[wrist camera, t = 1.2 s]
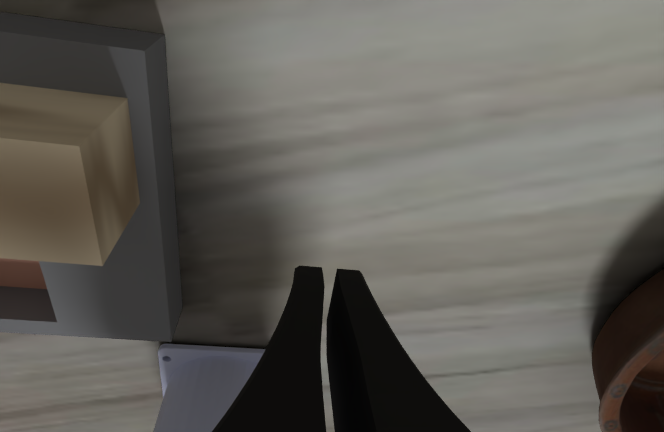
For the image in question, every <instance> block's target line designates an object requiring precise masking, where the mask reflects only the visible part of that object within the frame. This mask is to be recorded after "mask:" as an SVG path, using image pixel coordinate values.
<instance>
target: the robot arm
mask: <svg viewBox="0 0 664 432" xmlns="http://www.w3.org/2000/svg"><path fill="white" fill-rule="evenodd" d="M323 301H324V279H323V272H322V268H321V267H309V266H298V267H297V268H295V272H294V280H293V285H292V289H291V292H290V295H289V298H288V301H287V304H286V306H285V309H284V311H283V314H282V316H281V318H280V321H279V323H278V325H277V328H276V330H275V332H274V334H273V336H272V338H271V340H270V342H269V344H268V346H267V348H266V349H253V348H236V347H218V346H201V345H184V344H162V345H161V346H160V347H159V349H158V359H159V367H160V376H161V384H162V392H163V401H162V404H161V408H160V411H159V414H158V418H157V421H156V424H155V428H154V431H153V432H326V425H325V414H324V402H323V390H322V376H321V362H320V348H321V331H322V316H323ZM327 364H328V373H329V382H330V392H331V401H332V410H333V419H334V428H335V432H471V431H470V430H469V429H468V428H467V427H466V426H465V425H464V424H463V423H462V422H461V421H460V419H459V418H458V417H457V416H456V415H455V414H454V413H453V412H452V411H451V410H450V409H449V407H448V406H447V405H446V404H445V403H444V401H443V400H442V399H441V398H440V397H439V396H438V394H437V393H436V392H435V391H434V389H433V388H432V387H431V386H430V384H429V383H428V382H427V381H426V379H425V378H424V377H423V375H422V374H421V373H420V371H419V370H418V369H417V367H416V366H415V364H414V363H413V362H412V360H411V359H410V357H409V356H408V354H407V353H406V351H405V350H404V348H403V347H402V345H401V344H400V342H399V341H398V339H397V338H396V336H395V334H394V333H393V331H392V329H391V328H390V326H389V324H388V323H387V321H386V319H385V318H384V316H383V314H382V312H381V311H380V309H379V307H378V305H377V303H376V301H375V300H374V298H373V296H372V294H371V292H370V290H369V288H368V286H367V284H366V281H365V279H364V277H363V275H362V273H361V272H360V271H358V270H346V269H337V272H336V277H335V282H334V287H333V292H332V297H331V302H330V307H329V312H328V317H327Z"/></svg>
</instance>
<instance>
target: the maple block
mask: <svg viewBox="0 0 664 432" xmlns="http://www.w3.org/2000/svg"><path fill="white" fill-rule="evenodd" d="M139 204H140V198H139V190H138V181H137V173H136V165H135V157H134V148H133V140H132V132H131V123H130V115H129V107H128V98H122V97H114V96H106V95H98V94H89V93H81V92H73V91H65V90H56V89H48V88H40V87H31V86H23V85H15V84H7V83H0V258H5V259H18V260H31V261H44V262H57V263H70V264H83V265H96V266H103V265H104V263H105V261H106V260H107V258H108V256H109V254H110V253H111V251H112V249H113V248H114V246H115V244H116V243H117V241H118V239H119V238H120V236H121V234H122V232H123V231H124V229H125V227H126V226H127V224H128V222H129V221H130V219H131V217H132V216H133V214H134V212H135V210H136V209H137V207H138V205H139Z"/></svg>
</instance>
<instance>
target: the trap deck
mask: <svg viewBox="0 0 664 432" xmlns="http://www.w3.org/2000/svg"><path fill="white" fill-rule="evenodd" d="M0 83H7V84H15V85H23V86H31V87H40V88H48V89H56V90H65V91H73V92H81V93H89V94H98V95H106V96H114V97H122V98H128V107H129V115H130V123H131V132H132V140H133V148H134V157H135V165H136V173H137V181H138V190H139V198H140V204H139V205H138V207H137V209H136V210H135V212H134V214H133V216H132V217H131V219H130V221H129V222H128V224H127V226H126V227H125V229H124V231H123V232H122V234H121V236H120V238H119V239H118V241H117V243H116V244H115V246H114V248H113V249H112V251H111V253H110V254H109V256H108V258H107V260H106V261H105V263H104V265H103V266H96V265H83V264H70V263H57V262H44V261H31V260H18V259H5V258H0V332H9V333H27V334H44V335H61V336H78V337H95V338H112V339H130V340H147V341H164V342H171V341H172V338H173V335H174V332H175V329H176V326H177V323H178V320H179V317H180V314H181V310H182V307H183V306H182V291H181V276H180V261H179V245H178V230H177V215H176V200H175V185H174V170H173V154H172V139H171V124H170V109H169V94H168V79H167V63H166V48H165V35H164V34H157V33H150V32H143V31H136V30H128V29H121V28H114V27H107V26H99V25H92V24H85V23H78V22H71V21H63V20H56V19H49V18H42V17H35V16H27V15H20V14H13V13H6V12H0Z"/></svg>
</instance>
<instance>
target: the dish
mask: <svg viewBox="0 0 664 432" xmlns="http://www.w3.org/2000/svg"><path fill="white" fill-rule="evenodd" d="M592 368H593V374H594V379H595V384H596V388H597V392H598V395H599V399H600V406H599V424H600V429H601V431H602V432H664V269H663V270H662V271H660V272H658V273H657V274H656V275H654V276H653V277H651V278H650V279H649V280H647V281H646V282H645V283H643V284H642V285H640V286H639V287H638V288H637V289H635V290H634V291H633V292H632V293H631V294H630V295H629V296H628V297H627V298H625V299H624V300H623V301H622V302H621V303H620V304H619V306H618V307H617V308H616V309H615V310H614V311H613V313H612V314H611V316H610V317H609V319H608V320H607V321H606V323H605V324H604V326H603V327H602V329H601V331H600V333H599V335H598V336H597V338H596V340H595V344H594V347H593V352H592Z"/></svg>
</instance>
